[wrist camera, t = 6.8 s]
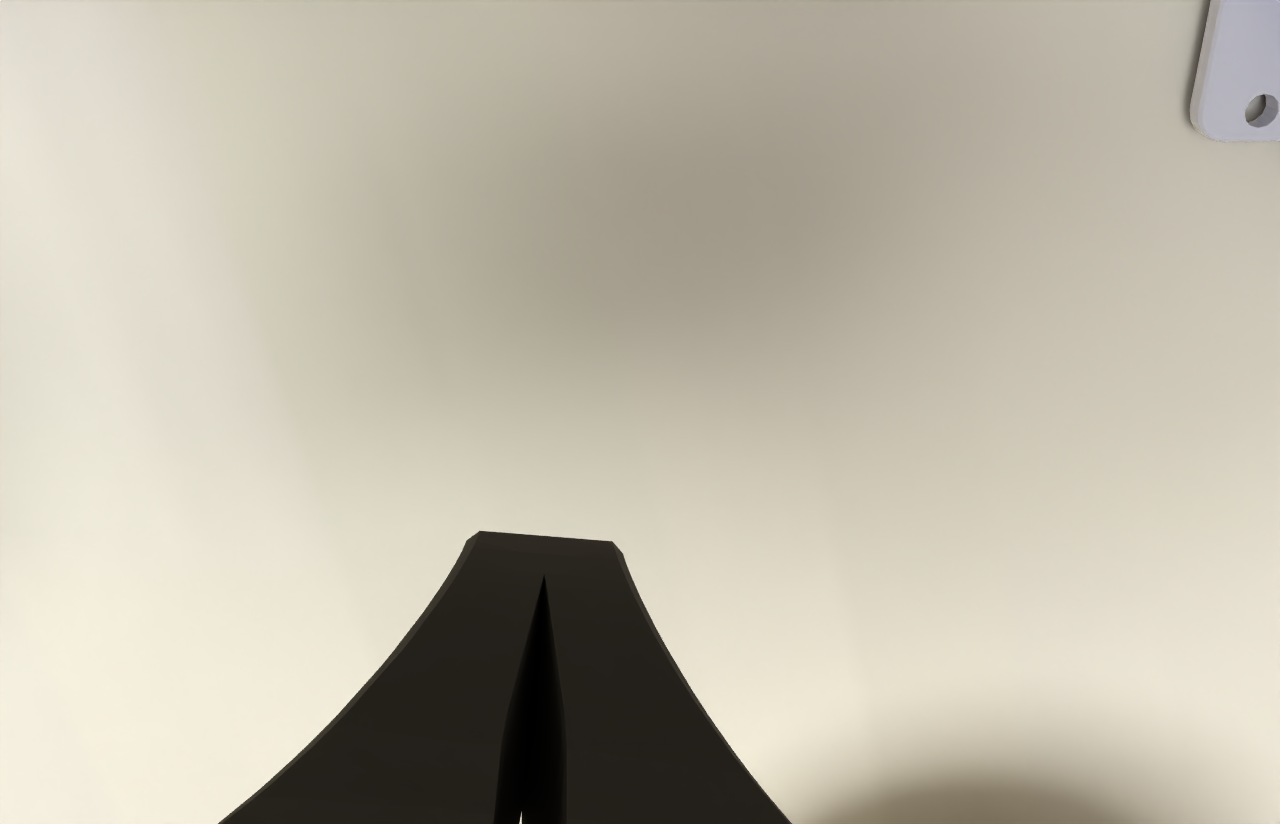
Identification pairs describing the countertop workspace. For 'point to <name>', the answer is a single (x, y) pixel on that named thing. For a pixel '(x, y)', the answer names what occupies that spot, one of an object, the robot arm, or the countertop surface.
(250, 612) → the countertop surface
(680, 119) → the countertop surface
